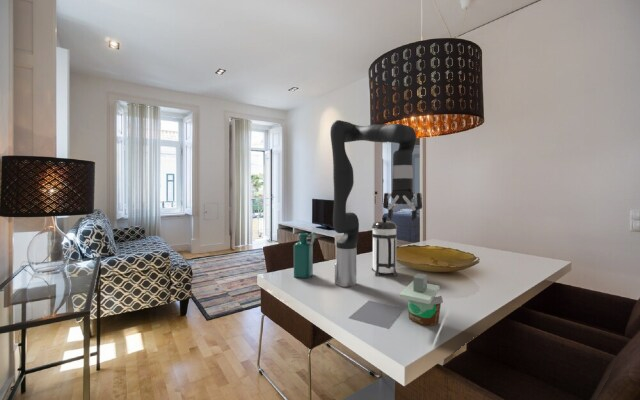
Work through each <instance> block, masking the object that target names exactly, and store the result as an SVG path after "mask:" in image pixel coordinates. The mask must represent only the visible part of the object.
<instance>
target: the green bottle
mask: <svg viewBox="0 0 640 400" xmlns="http://www.w3.org/2000/svg"><path fill="white" fill-rule="evenodd" d="M297 234H298V235H297V236H299V241H297V242H296V243H294V245H293V277H295V278H297V277H301V278H300V279H308V278H310V277H311V276H312V275H313V274H314V273H313V271H314V268H313V267H314V263H313V262H314V258H313V256H314V254H313V251H314V250H313V249H314V248H313V247H314V246H313V244H314V242H315V237H316V233H315V232H311V233H308V232H299V233H297ZM308 237H310V241H308Z"/></svg>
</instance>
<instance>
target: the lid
mask: <svg viewBox="0 0 640 400" xmlns="http://www.w3.org/2000/svg"><path fill="white" fill-rule="evenodd" d="M440 290H441V289H440V285H437V284H432V283H428V274H426V273H425V274H424V273H416V274H415V275H414V276H413V280H412V281H411V282H410V283H409V284H408V285H407V286H406V287H405V288H403V290H402V291H400V293H399V294H398V297H399V299H403V300H412V301H417V302H421V303H426V304H430V303H431V301H432V300H433V298H434V297H436V295H437V294H438V292H439V291H440Z"/></svg>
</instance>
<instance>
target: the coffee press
mask: <svg viewBox="0 0 640 400" xmlns="http://www.w3.org/2000/svg"><path fill="white" fill-rule="evenodd" d="M371 228H372V233H371V234H372V235H371V237H372V268H371V271H372V270H374V271H373V272H375V273H374V276H376V277H379V275H380V274H392V275H393V276H394V277H397V276H398V272H397V236H398V235H397V229H398V226H397V224H396V223H395V222H393V221H388V220H387V216H386V215H385V216H383V217H382V220H379V221H375V222H374V223H372V226H371Z"/></svg>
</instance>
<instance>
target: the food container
mask: <svg viewBox="0 0 640 400" xmlns="http://www.w3.org/2000/svg"><path fill="white" fill-rule="evenodd" d="M406 300H407V299H406ZM443 303H444V299H443V297H442V295H439V296H435V297H434V298H433V300H432V301H431V303H430V304H426V303H421V302H417V301H412V300H407V309H408V310H407V311H408V318H409V320H410V321H411V322H412V323H414V324H416V325H420V326H425V327H426V326H427V327H430V326H431V327H432V326H433V327H434V326H436V325H438V324H439V321H440V313H441V312H440V311H441V305H442V304H443Z"/></svg>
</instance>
